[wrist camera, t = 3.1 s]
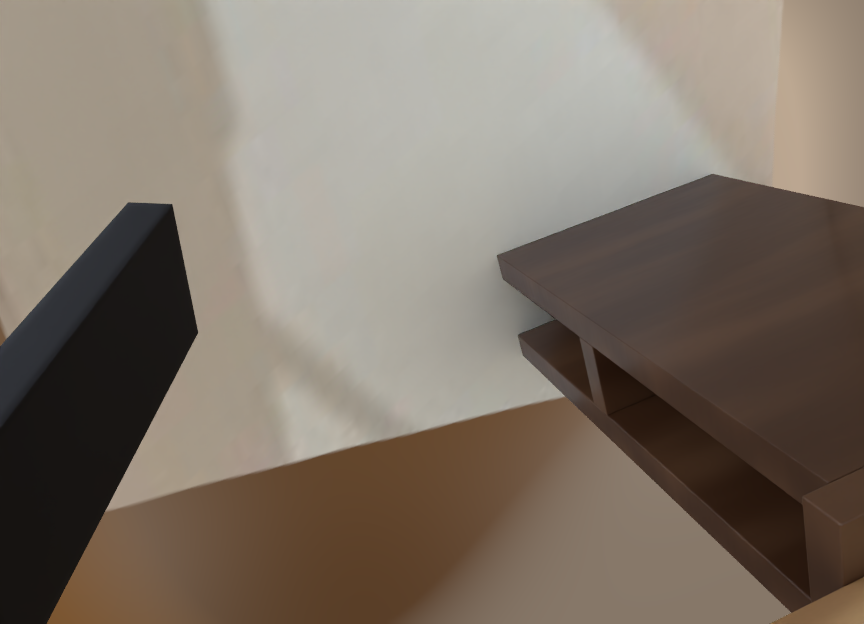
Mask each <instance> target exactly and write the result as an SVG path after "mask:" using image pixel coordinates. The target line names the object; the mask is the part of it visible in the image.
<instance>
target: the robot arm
mask: <svg viewBox="0 0 864 624" xmlns="http://www.w3.org/2000/svg"><path fill="white" fill-rule="evenodd" d="M197 334H198V330H197V325H196V320H195V315H194V310H193V305H192V300H191V295H190V290H189V285H188V280H187V275H186V270H185V265H184V260H183V255H182V250H181V245H180V240H179V235H178V230H177V226H176V221H175V216H174V211H173V206H172V204H152V203H127V205H126V206H125V207H124V208H123V209H122V210H121V211H120V212H119V213H118V215H117V216H116V217H115V218H114V219H113V220H112V221H111V222H110V224H109V225H108V226H107V227H106V228H105V229H104V230H103V231H102V233H101V234H100V235H99V236H98V237H97V238H96V239H95V240H94V242H93V243H92V244H91V245H90V246H89V247H88V248H87V249H86V251H85V252H84V253H83V254H82V255H81V256H80V257H79V258H78V260H77V261H76V262H75V263H74V264H73V265H72V266H71V267H70V269H69V270H68V271H67V272H66V273H65V274H64V275H63V276H62V278H61V279H60V280H59V281H58V282H57V283H56V284H55V285H54V286H53V288H52V289H51V290H50V291H49V292H48V293H47V294H46V295H45V297H44V298H43V299H42V300H41V301H40V302H39V303H38V304H37V306H36V307H35V308H34V309H33V310H32V311H31V312H30V313H29V315H28V316H27V317H26V318H25V319H24V320H23V321H22V322H21V324H20V325H19V326H18V327H17V328H16V329H15V330H14V331H13V333H12V334H11V335H10V336H9V337H8V338H7V339H6V340H5V342H4V343H3V344H2V345H1V346H0V624H47V622H48V620H49V618H50V616H51V614H52V612H53V610H54V608H55V606H56V604H57V603H58V601H59V599H60V597H61V595H62V593H63V591H64V589H65V587H66V585H67V583H68V581H69V580H70V577H71V576H72V574H73V572H74V570H75V568H76V566H77V564H78V562H79V560H80V558H81V556H82V554H83V553H84V551H85V549H86V547H87V545H88V543H89V541H90V539H91V537H92V535H93V533H94V532H95V530H96V528H97V526H98V524H99V522H100V520H101V518H102V516H103V514H104V512H105V510H106V508H107V507H108V505H109V503H110V501H111V499H112V497H113V495H114V493H115V491H116V489H117V487H118V485H119V484H120V482H121V480H122V478H123V476H124V474H125V472H126V470H127V468H128V466H129V464H130V462H131V460H132V459H133V457H134V455H135V453H136V451H137V449H138V447H139V445H140V443H141V441H142V439H143V437H144V436H145V434H146V432H147V430H148V428H149V426H150V424H151V422H152V420H153V418H154V416H155V414H156V412H157V411H158V409H159V407H160V405H161V403H162V401H163V399H164V397H165V395H166V393H167V391H168V389H169V387H170V386H171V384H172V382H173V380H174V378H175V376H176V374H177V372H178V370H179V368H180V366H181V364H182V363H183V361H184V359H185V357H186V355H187V353H188V351H189V349H190V347H191V345H192V343H193V341H194V339H195V338H196V336H197Z"/></svg>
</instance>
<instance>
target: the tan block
mask: <svg viewBox="0 0 864 624" xmlns="http://www.w3.org/2000/svg"><path fill="white" fill-rule="evenodd" d="M770 624H864V577H862V578H860V579H858V580H856V581H854V582H852V583H850V584H848V585H846V586H844V587H842V588H840V589H838V590H836V591H834V592H832V593H830V594H828V595H826V596H824V597H822V598H820V599H818V600H816V601H814V602H812V603H810V604H808V605H806V606H804V607H802V608H800V609H798V610H796V611H794V612H792V613H790V614H788V615H786V616H784V617H783V618H780V619H778V620H777V621H774V622H772V623H770Z"/></svg>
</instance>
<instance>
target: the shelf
mask: <svg viewBox="0 0 864 624" xmlns="http://www.w3.org/2000/svg"><path fill="white" fill-rule="evenodd" d="M497 257H498V261H499V265H500V269H501V273H502V277H503V279H504V280H505V281H507V282H508V283H509V284H511V285H512V286H513V287H515V288H516V289H517V290H519V291H520V292H521V293H522V294H524V295H525V296H526V297H528V298H529V299H530V300H532V301H533V302H534V303H536V304H537V305H538V306H540V307H541V308H542V309H544V310H545V311H546V312H548V313H549V314H550V315H552V316H553V317H554V318H556V320H554V321H551V322H549V323H546V324H544V325H541V326H539V327H536V328H534V329H531V330H529V331H526V332H524V333H521V334H519V335H518V337H519V341H520V345H521V349H522V353H523V356H524V357H525V358H526V359H527V360H528V361H529V362H530V363H531V364H532V365H534V366H535V367H536V368H537V369H538V370H539V371H540V372H541V373H542V374H543V375H544V376H545V377H546V378H547V379H548V380H549V381H550V382H551V383H552V384H553V385H554V386H555V387H556V388H558V389H559V390H560V391H561V392H562V393H563V394H564V395H565V396H566V397H567V398H568V399H569V400H570V401H571V402H572V403H573V404H574V405H575V406H576V407H577V408H578V409H579V410H580V411H582V412H583V413H584V414H585V415H586V416H587V417H588V418H589V419H590V420H591V421H592V422H593V423H594V424H595V425H596V426H597V427H598V428H599V429H600V430H601V431H602V432H603V433H604V434H606V435H607V436H608V437H609V438H610V439H611V440H612V441H613V442H614V443H615V444H616V445H617V446H618V447H619V448H620V449H621V450H622V451H623V452H624V453H625V454H626V455H627V456H628V457H630V458H631V459H632V460H633V461H634V462H635V463H636V464H637V465H638V466H639V467H640V468H641V469H642V470H643V471H644V472H645V473H646V474H647V475H648V476H649V477H650V478H651V479H652V480H654V481H655V482H656V483H657V484H658V485H659V486H660V487H661V488H662V489H663V490H664V491H665V492H666V493H667V494H668V495H669V496H670V497H671V498H672V499H673V500H674V501H676V503H678V504H679V505H680V506H681V507H682V508H683V509H684V510H685V511H686V512H687V513H688V514H689V515H690V516H691V517H692V518H693V519H694V520H695V521H696V522H697V523H698V524H700V526H702V527H703V528H704V529H705V530H706V531H707V532H708V533H709V534H710V535H711V536H712V537H713V538H714V539H715V540H716V541H717V542H718V543H719V544H720V545H721V546H722V547H723V548H725V549H726V550H727V551H728V552H729V553H730V554H731V555H732V556H733V557H734V558H735V559H736V560H737V561H738V562H739V563H740V564H741V565H742V566H743V567H744V568H745V569H746V570H747V571H749V572H750V573H751V574H752V575H753V576H754V577H755V578H756V579H757V580H758V581H759V582H760V583H761V584H762V585H763V586H764V587H765V588H766V589H767V590H768V591H769V592H770V593H771V594H773V595H774V596H775V597H776V598H777V599H778V600H779V601H780V602H781V603H782V604H783V605H784V606H785V607H786V608H787V609H788V610H789V611H790V612H791V613H792V612H794V611H796V610H798V609H800V608H802V607H804V606H806V605H808V604H810V603H812V602H814V601H816V600H818V599H820V598H822V597H824V596H826V595H828V594H830V593H832V592H834V591H836V590H838V589H840V588H842V587H844V586H846V585H848V584H850V583H852V582H854V581H856V580H858V579H860V578H862V577H864V207H860V206H855V205H850V204H846V203H842V202H837V201H833V200H828V199H824V198H819V197H815V196H809V195H806V194H801V193H796V192H791V191H787V190H782V189H778V188H774V187H769V186H765V185H760V184H755V183H751V182H746V181H742V180H737V179H733V178H728V177H724V176H719V175H715V174H711V175H709V176H706V177H703V178H701V179H698V180H696V181H693V182H690V183H688V184H685V185H682V186H680V187H677V188H674V189H672V190H669V191H666V192H664V193H661V194H658V195H656V196H653V197H651V198H648V199H645V200H643V201H640V202H637V203H635V204H632V205H629V206H627V207H624V208H621V209H619V210H616V211H614V212H611V213H608V214H606V215H603V216H600V217H598V218H595V219H592V220H590V221H587V222H584V223H582V224H579V225H576V226H574V227H571V228H569V229H566V230H563V231H561V232H558V233H555V234H553V235H550V236H547V237H545V238H542V239H539V240H537V241H534V242H531V243H529V244H526V245H524V246H521V247H518V248H516V249H513V250H510V251H508V252H505V253H502V254H500V255H497Z"/></svg>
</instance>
